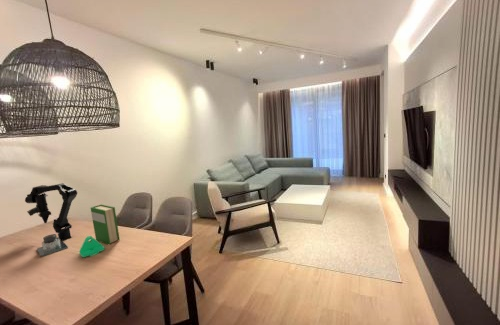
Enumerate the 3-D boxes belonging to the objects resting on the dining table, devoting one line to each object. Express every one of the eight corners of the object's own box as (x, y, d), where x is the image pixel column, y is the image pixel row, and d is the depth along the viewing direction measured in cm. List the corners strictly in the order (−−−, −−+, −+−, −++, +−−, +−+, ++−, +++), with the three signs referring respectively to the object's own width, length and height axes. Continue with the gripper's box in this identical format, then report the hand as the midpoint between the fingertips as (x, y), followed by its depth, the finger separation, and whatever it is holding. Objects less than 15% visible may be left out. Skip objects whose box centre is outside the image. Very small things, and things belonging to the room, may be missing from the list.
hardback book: (119, 240, 170) (114, 207, 167) (108, 244, 164) (103, 210, 161) (106, 235, 180) (101, 204, 177) (96, 239, 174) (90, 207, 171)
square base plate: (62, 241, 175) (60, 233, 174) (67, 247, 164) (66, 239, 163) (36, 249, 165) (35, 241, 164) (40, 257, 154) (39, 248, 153)
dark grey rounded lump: (56, 240, 169) (55, 233, 168) (58, 243, 164) (57, 235, 163) (43, 244, 164) (42, 236, 163) (45, 247, 159) (44, 239, 158)
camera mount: (83, 259, 147) (80, 243, 146) (80, 255, 153) (77, 239, 151) (105, 251, 156) (102, 235, 155) (101, 247, 161) (98, 232, 160)
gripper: (25, 203, 180) (29, 224, 182) (28, 208, 167) (33, 229, 169) (44, 199, 188) (48, 219, 190) (49, 203, 175) (53, 224, 178)
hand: (45, 223), depth 182 cm, fingers closed
